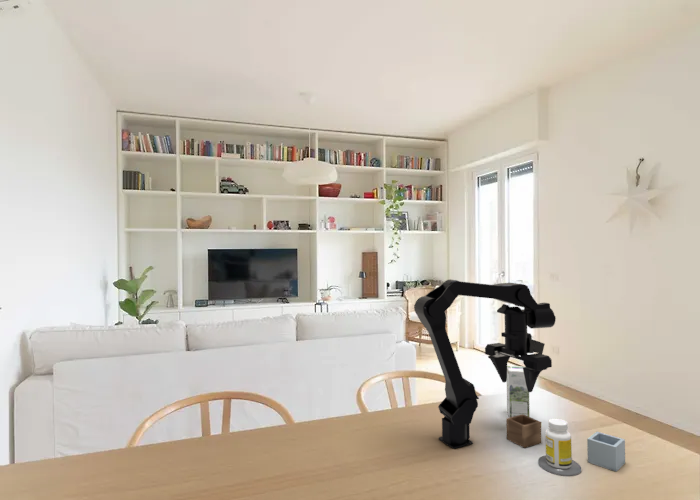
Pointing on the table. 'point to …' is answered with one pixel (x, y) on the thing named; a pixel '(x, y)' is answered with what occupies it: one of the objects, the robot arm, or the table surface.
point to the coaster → (571, 471)
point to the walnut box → (523, 430)
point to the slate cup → (606, 451)
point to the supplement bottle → (558, 444)
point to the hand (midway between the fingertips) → (516, 386)
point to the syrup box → (517, 392)
